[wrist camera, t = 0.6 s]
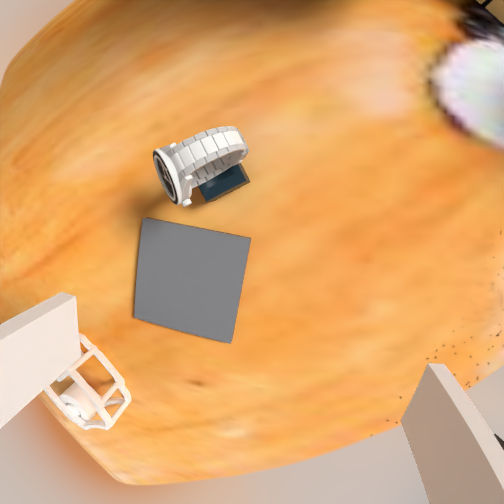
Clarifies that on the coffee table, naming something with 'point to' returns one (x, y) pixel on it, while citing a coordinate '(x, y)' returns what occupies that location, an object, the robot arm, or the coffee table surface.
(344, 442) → the coffee table surface
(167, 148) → the watch
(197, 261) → the mat
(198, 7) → the coffee table surface
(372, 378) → the coffee table surface
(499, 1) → the puzzle cube
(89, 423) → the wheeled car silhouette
